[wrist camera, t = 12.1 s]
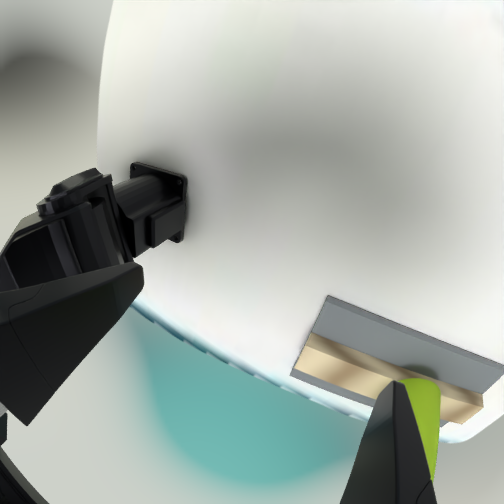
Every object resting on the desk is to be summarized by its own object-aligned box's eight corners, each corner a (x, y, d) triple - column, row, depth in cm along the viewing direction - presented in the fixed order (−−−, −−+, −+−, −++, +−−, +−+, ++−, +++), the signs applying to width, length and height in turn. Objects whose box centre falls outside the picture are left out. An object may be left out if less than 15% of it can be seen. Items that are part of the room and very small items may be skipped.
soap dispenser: (410, 423, 22) (354, 601, 6) (367, 396, 22) (286, 598, 7) (457, 399, 18) (414, 606, 2) (416, 368, 19) (346, 616, 3)
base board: (292, 369, 29) (289, 375, 28) (328, 295, 22) (326, 301, 22) (441, 421, 23) (441, 427, 23) (504, 365, 17) (505, 371, 16)
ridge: (299, 355, 26) (294, 368, 24) (311, 332, 24) (305, 345, 23) (461, 411, 20) (461, 424, 19) (482, 394, 19) (483, 407, 17)
